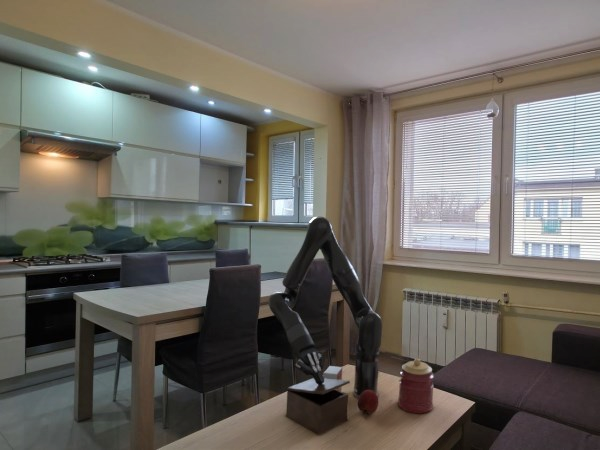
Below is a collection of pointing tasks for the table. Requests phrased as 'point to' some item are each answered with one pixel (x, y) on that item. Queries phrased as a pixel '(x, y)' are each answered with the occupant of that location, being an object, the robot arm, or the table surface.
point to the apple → (368, 401)
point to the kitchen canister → (416, 387)
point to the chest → (317, 409)
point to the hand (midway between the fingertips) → (321, 383)
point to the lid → (318, 386)
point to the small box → (333, 374)
